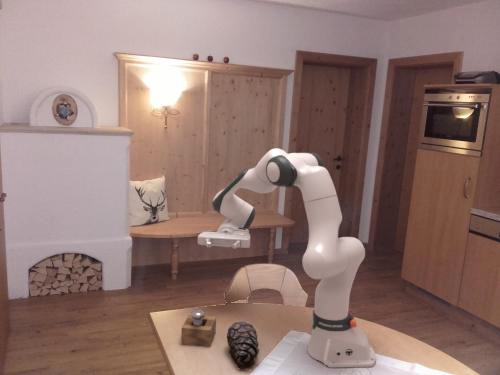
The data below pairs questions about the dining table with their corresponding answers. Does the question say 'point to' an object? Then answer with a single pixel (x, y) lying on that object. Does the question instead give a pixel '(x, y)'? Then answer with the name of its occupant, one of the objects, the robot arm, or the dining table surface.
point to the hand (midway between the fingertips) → (221, 246)
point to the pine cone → (243, 344)
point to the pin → (197, 316)
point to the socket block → (199, 331)
